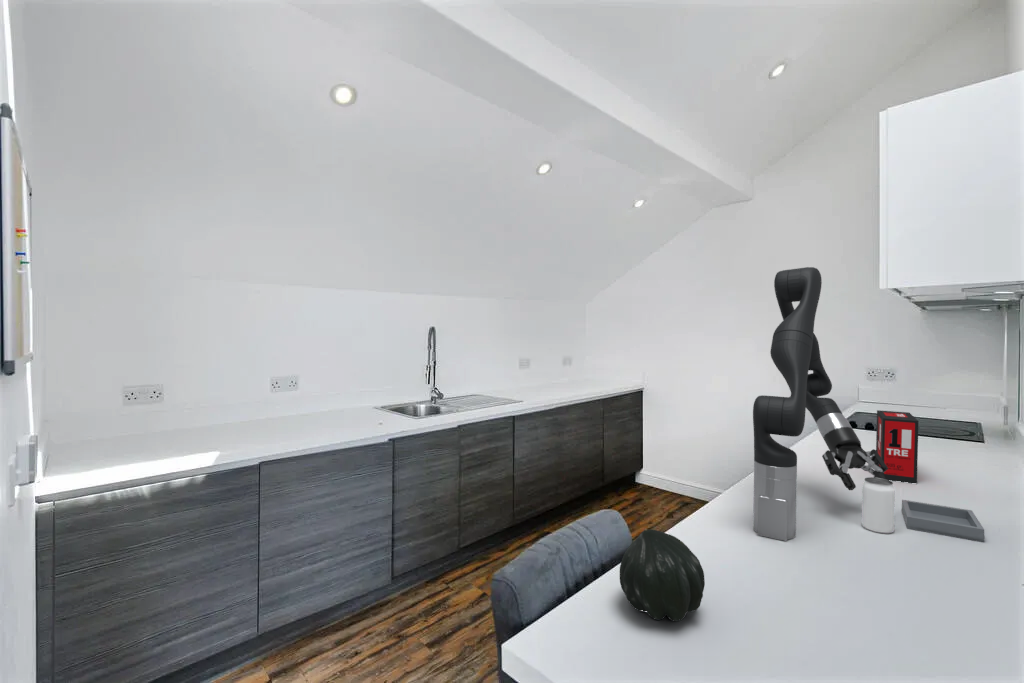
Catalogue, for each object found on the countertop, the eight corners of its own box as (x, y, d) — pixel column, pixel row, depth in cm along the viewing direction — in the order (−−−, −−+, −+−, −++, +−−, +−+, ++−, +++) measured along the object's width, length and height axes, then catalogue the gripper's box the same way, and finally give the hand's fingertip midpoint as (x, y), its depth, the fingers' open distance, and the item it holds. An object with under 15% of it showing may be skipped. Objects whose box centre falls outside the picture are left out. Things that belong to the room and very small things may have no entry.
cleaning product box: (916, 484, 155) (918, 421, 154) (881, 479, 160) (883, 418, 159) (907, 470, 169) (909, 412, 169) (875, 466, 174) (877, 410, 173)
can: (880, 523, 126) (881, 476, 125) (901, 534, 119) (902, 484, 119) (855, 523, 125) (856, 476, 125) (874, 534, 119) (875, 485, 118)
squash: (732, 580, 88) (677, 505, 94) (700, 622, 77) (640, 534, 83) (675, 608, 96) (628, 537, 102) (639, 650, 85) (588, 568, 91)
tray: (984, 542, 114) (984, 529, 114) (906, 528, 122) (907, 516, 122) (971, 521, 126) (971, 510, 126) (901, 510, 134) (901, 499, 134)
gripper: (819, 426, 133) (849, 482, 122) (870, 425, 133) (905, 480, 122) (806, 441, 138) (834, 496, 127) (855, 440, 139) (887, 494, 128)
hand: (869, 488), depth 125 cm, fingers open, 8 cm apart
